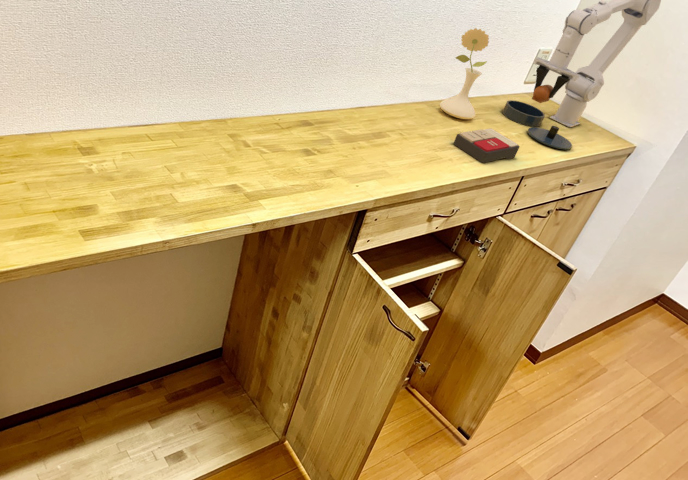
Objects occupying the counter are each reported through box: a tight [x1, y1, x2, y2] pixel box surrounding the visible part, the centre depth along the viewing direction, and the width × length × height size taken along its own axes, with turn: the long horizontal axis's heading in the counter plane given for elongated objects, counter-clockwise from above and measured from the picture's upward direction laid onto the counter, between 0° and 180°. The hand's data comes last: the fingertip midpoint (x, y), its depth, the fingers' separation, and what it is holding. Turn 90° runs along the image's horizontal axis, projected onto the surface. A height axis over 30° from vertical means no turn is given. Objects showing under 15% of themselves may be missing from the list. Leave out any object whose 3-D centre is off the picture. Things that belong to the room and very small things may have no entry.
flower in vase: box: [439, 27, 490, 120], centre depth 171 cm, size 13×11×25 cm
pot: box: [501, 99, 546, 128], centre depth 190 cm, size 13×13×3 cm
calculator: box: [452, 128, 520, 164], centre depth 157 cm, size 11×4×15 cm
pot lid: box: [527, 125, 573, 150], centre depth 177 cm, size 14×14×4 cm
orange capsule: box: [531, 84, 554, 104], centre depth 184 cm, size 9×5×5 cm, turn 135°
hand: (542, 94), depth 185 cm, fingers closed on orange capsule, 5 cm apart
